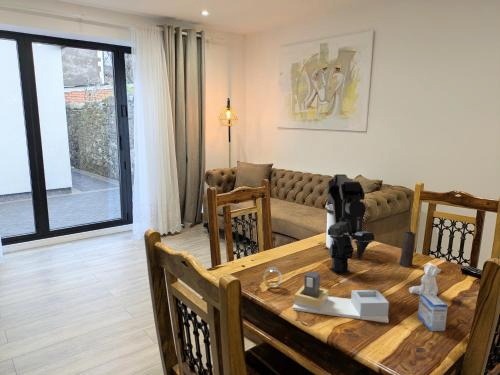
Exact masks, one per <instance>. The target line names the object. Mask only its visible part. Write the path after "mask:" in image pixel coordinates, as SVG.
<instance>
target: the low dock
mask: <svg viewBox="0 0 500 375" xmlns="http://www.w3.org/2000/svg"><path fill="white" fill-rule="evenodd" d="M329 292H330V290H329V289H326V288H321V287H320V290H319V297H318V298H314V297H310V296H306V295H304V284H302V286H301V287H300V288H299V289H298V290H296V292H295V293H294V295H293V297H294V298H293V302H294V303H293V305H294V304H296V305H300V306H303V307H307V308H311V309H314V310H318V311H319V314H320V310H321V308H322V307H323V306H324V305H325V303H326V302H327V301H328V297H330V296H329V294H330V293H329ZM320 315H321V314H320Z"/></svg>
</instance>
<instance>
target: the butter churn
mask: <svg viewBox="0 0 500 375" xmlns="http://www.w3.org/2000/svg"><path fill="white" fill-rule="evenodd" d="M408 202H409V203H408V204H409V206H408V207H409V208H408V214H409V215H408V231H405V233H404V238H403V244H402V248H401V254H400V257H399V258H400V260H399V265H400V266H402V267H406V268H411V267H412V266H413V258H414V251H415V250H414V249H415V243H416V233H415V232H412V231H411V204H412V203H411V201H408Z"/></svg>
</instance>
